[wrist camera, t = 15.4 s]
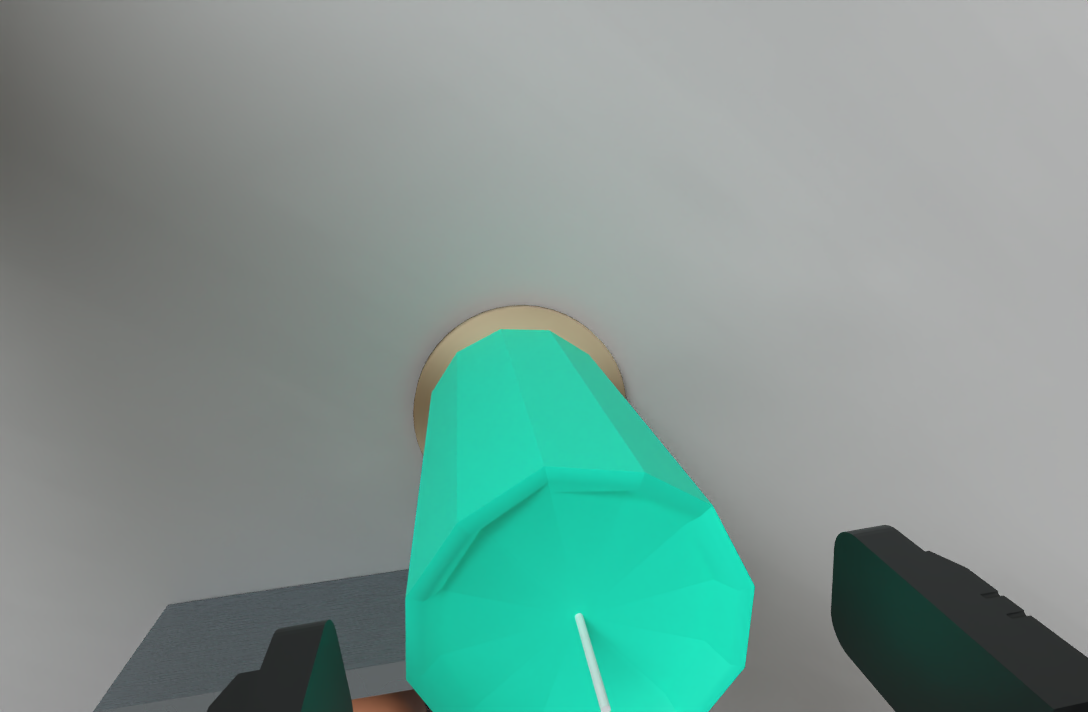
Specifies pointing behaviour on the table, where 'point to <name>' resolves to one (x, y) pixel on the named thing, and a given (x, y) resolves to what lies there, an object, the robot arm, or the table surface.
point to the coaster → (490, 323)
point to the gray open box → (264, 642)
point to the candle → (563, 547)
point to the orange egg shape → (391, 703)
